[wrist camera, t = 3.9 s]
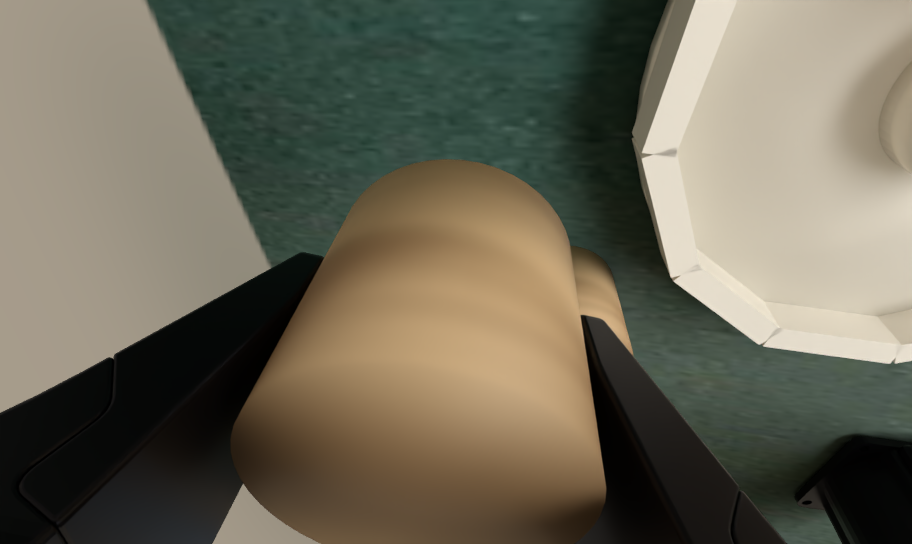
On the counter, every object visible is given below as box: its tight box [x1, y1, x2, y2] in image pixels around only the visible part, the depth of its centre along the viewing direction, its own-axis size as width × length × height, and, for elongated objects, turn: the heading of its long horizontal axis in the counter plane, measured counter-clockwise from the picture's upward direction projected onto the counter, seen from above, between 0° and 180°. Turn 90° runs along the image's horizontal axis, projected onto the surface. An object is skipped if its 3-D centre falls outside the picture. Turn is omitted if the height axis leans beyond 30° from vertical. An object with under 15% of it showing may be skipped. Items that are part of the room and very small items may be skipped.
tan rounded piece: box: [230, 159, 606, 544], centre depth 8 cm, size 4×4×4 cm
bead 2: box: [570, 246, 633, 355], centre depth 20 cm, size 4×4×4 cm
